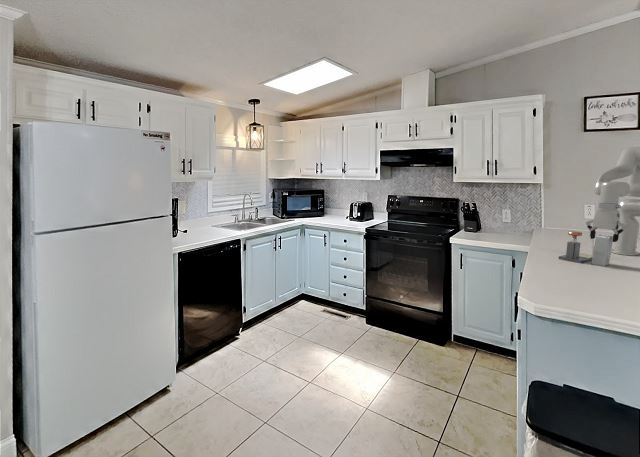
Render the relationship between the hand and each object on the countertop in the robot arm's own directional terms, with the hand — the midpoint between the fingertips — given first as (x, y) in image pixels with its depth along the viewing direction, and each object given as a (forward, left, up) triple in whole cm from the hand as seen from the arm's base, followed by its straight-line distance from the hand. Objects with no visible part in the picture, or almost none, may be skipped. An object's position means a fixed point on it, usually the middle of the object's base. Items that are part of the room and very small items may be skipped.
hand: (603, 240), depth 184 cm
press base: (-1, -11, -13) cm, 17 cm away
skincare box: (-1, 0, -13) cm, 13 cm away
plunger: (+5, -11, -7) cm, 14 cm away
